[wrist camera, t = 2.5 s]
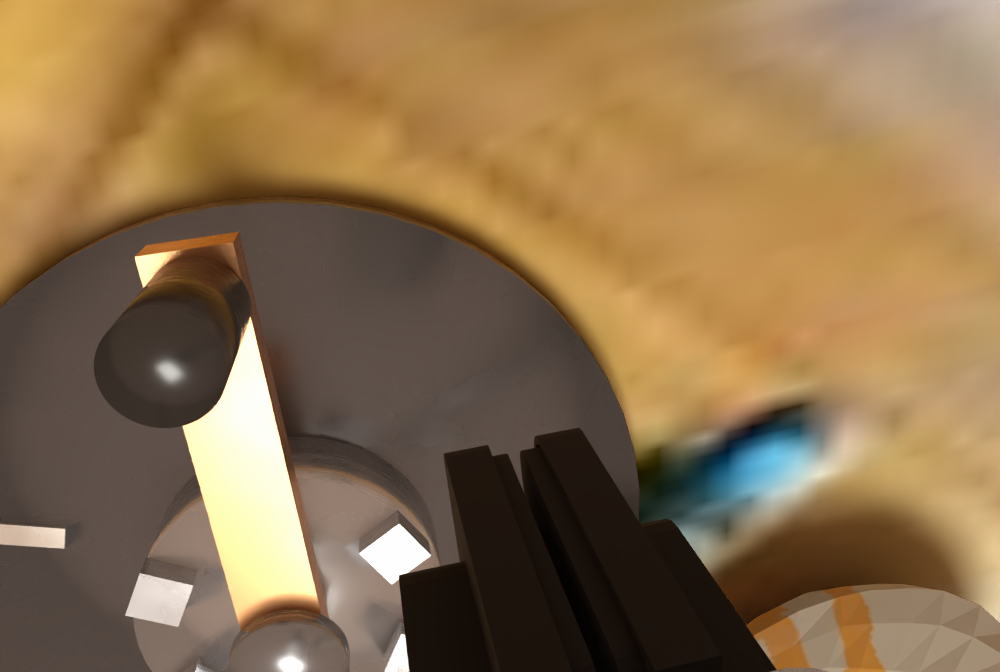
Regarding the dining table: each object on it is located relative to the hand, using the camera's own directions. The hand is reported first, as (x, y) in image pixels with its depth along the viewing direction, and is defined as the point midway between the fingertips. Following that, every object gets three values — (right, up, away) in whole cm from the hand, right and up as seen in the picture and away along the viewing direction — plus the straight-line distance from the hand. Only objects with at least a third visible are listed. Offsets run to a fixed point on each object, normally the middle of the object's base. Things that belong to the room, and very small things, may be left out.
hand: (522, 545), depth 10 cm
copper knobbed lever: (-8, -2, +18) cm, 20 cm away
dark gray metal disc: (-8, -5, +21) cm, 23 cm away
